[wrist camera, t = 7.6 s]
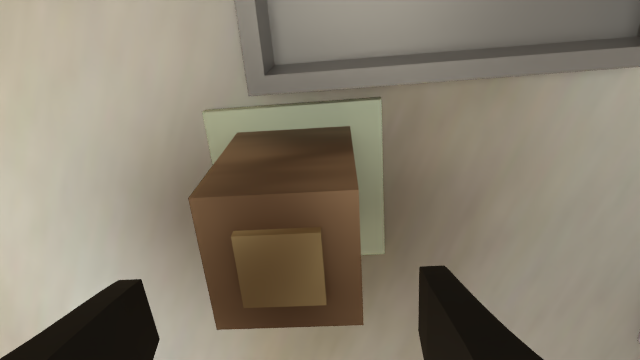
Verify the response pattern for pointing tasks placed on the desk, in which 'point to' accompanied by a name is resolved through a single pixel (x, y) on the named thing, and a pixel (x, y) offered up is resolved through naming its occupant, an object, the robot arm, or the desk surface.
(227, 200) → the module block
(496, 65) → the case
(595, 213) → the desk surface
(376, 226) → the pad
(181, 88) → the desk surface
